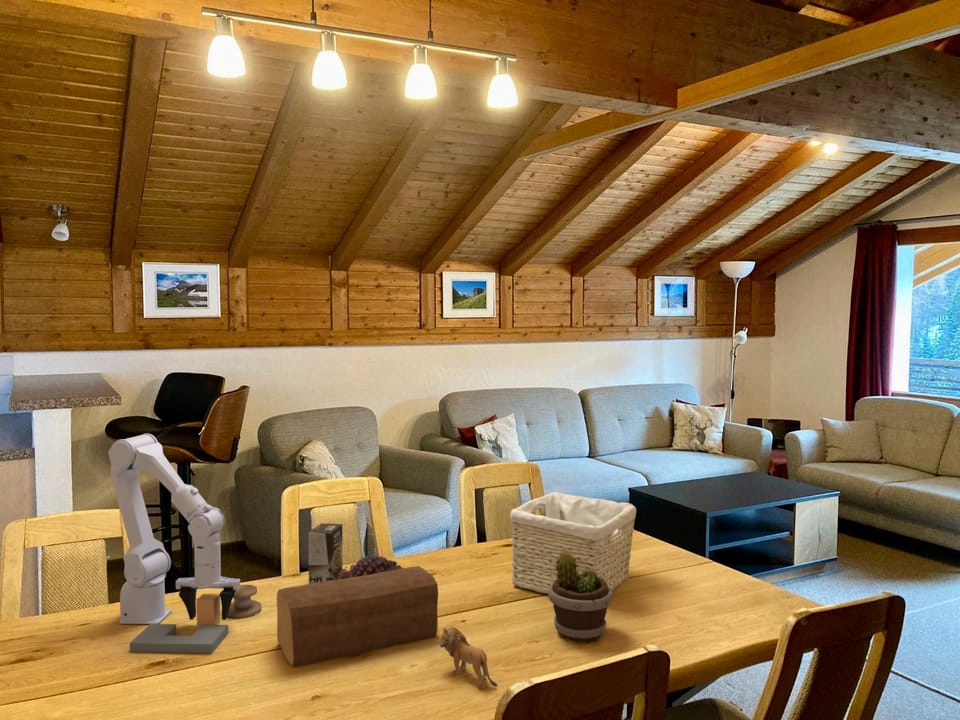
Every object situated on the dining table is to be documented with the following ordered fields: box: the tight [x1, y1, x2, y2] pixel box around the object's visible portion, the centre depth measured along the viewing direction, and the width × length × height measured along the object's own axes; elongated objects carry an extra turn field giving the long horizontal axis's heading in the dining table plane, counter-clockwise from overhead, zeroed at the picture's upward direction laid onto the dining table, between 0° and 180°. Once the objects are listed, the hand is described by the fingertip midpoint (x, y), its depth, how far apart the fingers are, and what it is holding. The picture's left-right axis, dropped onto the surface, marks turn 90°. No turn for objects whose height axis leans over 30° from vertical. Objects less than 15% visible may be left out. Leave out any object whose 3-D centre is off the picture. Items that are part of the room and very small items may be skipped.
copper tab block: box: [196, 593, 221, 630], centre depth 180 cm, size 4×4×7 cm
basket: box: [509, 491, 637, 595], centre depth 209 cm, size 27×27×22 cm
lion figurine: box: [437, 625, 498, 690], centre depth 156 cm, size 15×5×9 cm, turn 51°
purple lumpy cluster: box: [337, 554, 404, 579], centre depth 201 cm, size 18×10×10 cm, turn 109°
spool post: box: [227, 584, 262, 619], centre depth 189 cm, size 9×9×5 cm
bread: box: [276, 565, 439, 668], centre depth 173 cm, size 14×34×14 cm, turn 118°
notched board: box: [129, 623, 229, 654], centre depth 171 cm, size 18×10×2 cm, turn 89°
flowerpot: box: [548, 548, 613, 643], centre depth 177 cm, size 14×15×20 cm
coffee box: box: [308, 522, 344, 584], centre depth 205 cm, size 9×6×16 cm
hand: (208, 618), depth 180 cm, fingers open, 7 cm apart
